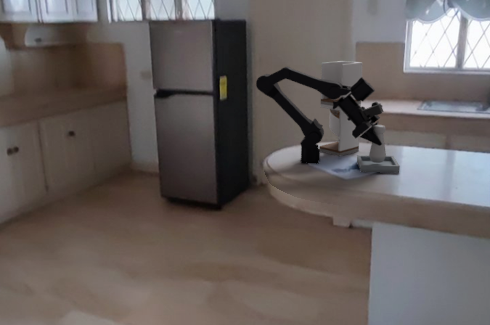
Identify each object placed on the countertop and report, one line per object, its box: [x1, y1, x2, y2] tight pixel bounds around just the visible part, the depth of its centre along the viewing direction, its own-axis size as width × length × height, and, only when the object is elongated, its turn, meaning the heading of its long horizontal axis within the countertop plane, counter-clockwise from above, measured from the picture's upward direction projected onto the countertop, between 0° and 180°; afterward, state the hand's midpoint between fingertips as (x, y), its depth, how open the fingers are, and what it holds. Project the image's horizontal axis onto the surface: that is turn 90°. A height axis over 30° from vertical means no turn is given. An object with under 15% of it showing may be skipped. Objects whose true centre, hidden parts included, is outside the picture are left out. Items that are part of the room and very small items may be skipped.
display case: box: [319, 60, 364, 157], centre depth 199 cm, size 11×11×35 cm
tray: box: [356, 155, 401, 174], centre depth 181 cm, size 13×13×2 cm
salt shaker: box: [368, 124, 387, 163], centre depth 179 cm, size 6×6×13 cm
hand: (382, 143), depth 178 cm, fingers closed on salt shaker, 3 cm apart
